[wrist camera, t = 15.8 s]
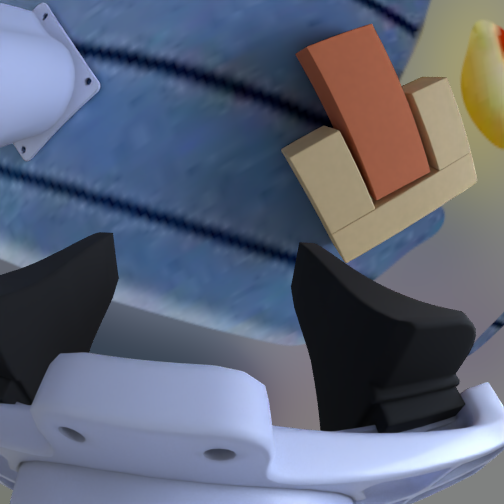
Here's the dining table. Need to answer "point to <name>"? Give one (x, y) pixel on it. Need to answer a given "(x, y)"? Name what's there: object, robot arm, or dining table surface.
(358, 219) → the u-shaped block
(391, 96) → the reddish-brown rectangular block
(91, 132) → the dining table surface
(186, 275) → the dining table surface
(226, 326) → the dining table surface
